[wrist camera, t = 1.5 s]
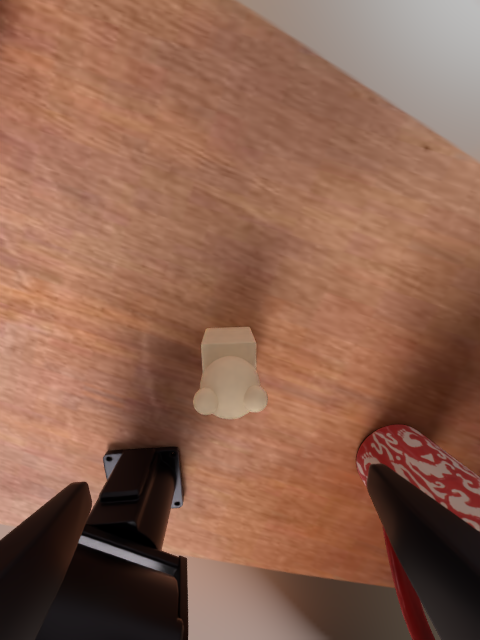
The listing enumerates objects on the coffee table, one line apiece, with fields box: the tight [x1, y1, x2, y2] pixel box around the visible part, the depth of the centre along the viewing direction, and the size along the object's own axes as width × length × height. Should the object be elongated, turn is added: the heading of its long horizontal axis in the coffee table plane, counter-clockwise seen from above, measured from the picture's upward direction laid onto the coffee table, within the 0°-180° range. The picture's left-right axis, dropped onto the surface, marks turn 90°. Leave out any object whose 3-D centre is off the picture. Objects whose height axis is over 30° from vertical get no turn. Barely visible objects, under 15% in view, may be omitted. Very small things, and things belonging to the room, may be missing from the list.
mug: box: [356, 425, 480, 640], centre depth 16 cm, size 13×9×14 cm
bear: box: [193, 327, 268, 419], centre depth 15 cm, size 4×4×8 cm
